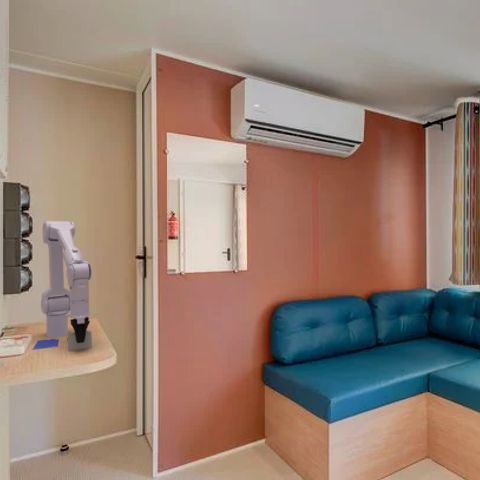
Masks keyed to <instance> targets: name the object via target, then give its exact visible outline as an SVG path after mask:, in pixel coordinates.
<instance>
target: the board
mask: <svg viewBox="0 0 480 480" xmlns="http://www.w3.org/2000/svg"><path fill="white" fill-rule="evenodd" d="M92 334H93V333H92V330H86V335H85V341H84V342H83V343H77V341H76V336H75V332H68V334H67V336H68V341H67V350H68V352H70V351H71V352H72V351H77V350H78V351H79V350H85V349H92V347H93V345H92V344H93V343H92V338H93V337H92V336H93V335H92Z"/></svg>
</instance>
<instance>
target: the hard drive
mask: <svg viewBox="0 0 480 480" xmlns="http://www.w3.org/2000/svg"><path fill="white" fill-rule="evenodd" d="M59 343H60V339H58V338H51V339H42V340H41V339H40V340H37V341H36V342H35V345H34V346H33V348H32V351H34V350H35V351H36V350H44V349H53V348H58V347H59Z"/></svg>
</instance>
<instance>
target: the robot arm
mask: <svg viewBox="0 0 480 480" xmlns="http://www.w3.org/2000/svg"><path fill="white" fill-rule="evenodd" d="M42 224H43V225H42V240H43V243H44V244H46V245H47V247H48V262H49V263H48V266H49V269H48V270H49V287H48V288H47V289H46V290H45V291H44V292H43V293H42V294H41V301H40V310H41V312H42V313H43V314H44V315H45V317H46V318H45V319H46V320H45V321H46V324H45V325H46V337H47V338H57V337H59V338H60V337H63V336H68V333H69V322H68V321H70V325H71V327H72V328H73V331H74V332H75V336H76V341H77V343H83V342H84V341H85V335H86V331H88V330H87V329H88V326H89V325H90V323H91V322H90V317H89V316H90V314H91V312H90V294H89V293H90V287H89V285H90V284H89V283H90V281H89V280H91V278H92V267H91V266H92V265H91V263H90V262H88V261H87V260H85V258H84V257H83V254H82V252H81V249H80V248H78V247H76V244H75V241H74V237H75V234H76V225H75V223H74V221H72V220H70V221H65V220H64V221H63V220H60V221H58V220H45V221H44V222H43V223H42ZM64 264H65V267H66V278H67V285H68V287H69V289H68V288H66V287H65V282H64V281H65V280H64V278H65V277H64ZM69 318H72V319H70V320H68V319H69Z"/></svg>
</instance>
